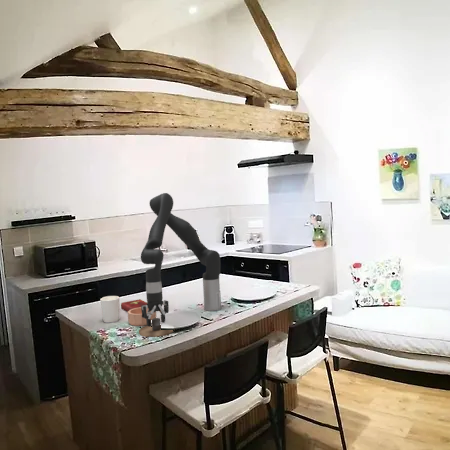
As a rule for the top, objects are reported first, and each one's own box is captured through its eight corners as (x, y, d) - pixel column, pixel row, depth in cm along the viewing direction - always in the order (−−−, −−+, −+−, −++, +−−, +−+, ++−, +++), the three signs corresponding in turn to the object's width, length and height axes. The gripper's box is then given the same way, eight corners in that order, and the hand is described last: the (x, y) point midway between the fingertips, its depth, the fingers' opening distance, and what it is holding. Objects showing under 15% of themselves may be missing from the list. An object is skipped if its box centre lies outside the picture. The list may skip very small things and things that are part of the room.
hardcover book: (134, 317, 241) (134, 309, 241) (121, 309, 259) (120, 302, 258) (155, 313, 248) (154, 305, 247) (140, 305, 265) (140, 298, 265)
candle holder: (122, 317, 241) (121, 295, 240) (118, 322, 231) (117, 300, 230) (104, 318, 241) (102, 296, 240) (99, 323, 231) (98, 301, 230)
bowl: (159, 317, 237) (158, 306, 236) (152, 325, 223) (151, 314, 222) (133, 318, 238) (132, 307, 237) (125, 326, 224) (124, 314, 224)
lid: (177, 326, 222) (176, 313, 222) (170, 337, 205) (169, 324, 205) (144, 326, 224) (143, 314, 223) (134, 338, 207) (133, 325, 206)
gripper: (162, 286, 220) (164, 319, 222) (136, 292, 211) (139, 326, 213) (171, 289, 215) (173, 322, 216) (145, 294, 205) (147, 329, 207)
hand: (156, 324), depth 214 cm, fingers open, 7 cm apart
